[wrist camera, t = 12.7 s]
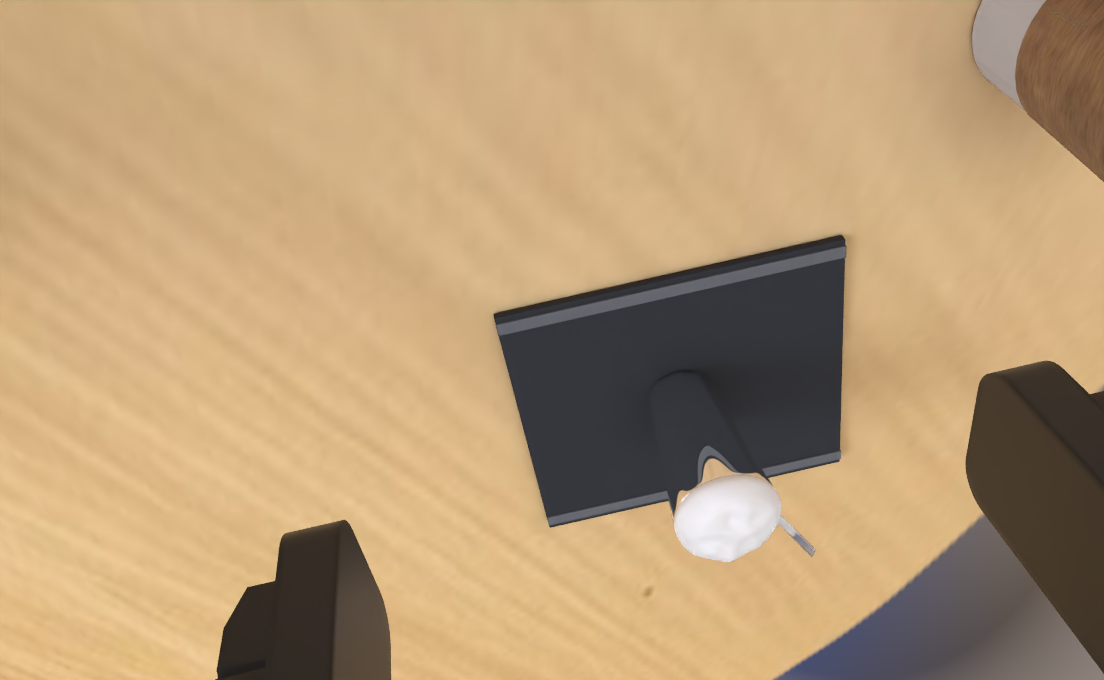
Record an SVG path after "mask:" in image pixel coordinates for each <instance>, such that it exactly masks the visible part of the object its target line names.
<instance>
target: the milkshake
mask: <svg viewBox="0 0 1104 680" xmlns="http://www.w3.org/2000/svg"><path fill="white" fill-rule="evenodd" d="M647 399H648V407H649V414H650V419H651V423H652V427H653V431H654V435H655V439H656V444H657V448H658V452H659V456H660V460H661V464H662V468H663V473H664V477H665V483H666V489H667V495H668V500H669V505H670V510H671V515H672V520H673V525H674V529H675V533H676V536H677V538H678V539H679V541H680V543H681V544H682V545H683V546H684V547H685V548H686V549H687V550H688V551H689V552H690V553H692V554H694V555H696V556H699V557H702V558H708V559H713V560H718V561H722V562H731V561H734V560H736V559H738V558H739V557H741V556H742V555H744V554H746V553H748V552H750V551H753V550H755V549H757V548H759V547H760V546H761V545H762V544H763V543H764V542H765V541H766V540H767V539H768V537H769V536H770V535H771V533H772V532H773V531H774V529H775V528H776V526H777V524H779V525H780V526H781V527H782V528H783V529H784V530H785V531H786V532H787V533H788V534H789V535H790V536H791V537H792V538H793V539H794V540H795V541H796V542H797V543H798V544H799V545H800V546H801V547H802V548H803V549H804V550H805V551H806V552H807V553H808V554H809V555H810V556H813V554H814V552H815V548H814V547H813V546H812V545H811V544H810V543H809V542H808V541H807V540H806V539H805V538H804V537H803V536H802V535H801V534H800V533H799V532H798V531H797V530H796V529H795V528H794V527H793V526H792V525H791V524H790V523H789V522H787V521H786V520H785V519H784V518H783V517H782V516H781V508H782V505H781V499H780V497H779V494H778V493H777V491H776V490H775V488H774V487H773V485H772V484H771V482H770V480H769V479H768V477H767V476H766V474H765V473H764V471H763V470H762V468H761V467H760V465H759V463H758V462H757V460H756V459H755V457H754V456H753V454H752V453H751V451H750V449H749V448H748V446H747V444H746V443H745V441H744V439H743V437H742V436H741V434H740V432H739V431H738V429H737V427H736V426H735V424H734V422H733V421H732V419H731V417H730V415H729V414H728V412H727V410H726V409H725V407H724V405H723V404H722V402H721V400H720V399H719V397H718V395H717V394H716V392H715V390H714V389H713V387H712V385H711V384H710V383H709V382H708V381H707V380H706V379H704V378H703V377H702V376H701V375H699V374H698V373H697V372H678V371H676V372H674V373H672V374H670V375H668V376H666V377H664V378H662V379H660V380H658V381H657V382H656V384H655V385H654V387H653V388H652V390H651V391H650V393H649V394H648V396H647Z"/></svg>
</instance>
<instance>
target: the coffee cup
mask: <svg viewBox="0 0 1104 680" xmlns="http://www.w3.org/2000/svg"><path fill="white" fill-rule="evenodd" d="M972 48H973V56H974V59H975V61H976V64H977V67H978V68H979V70H980V71H981V73H982V74H983V75H984V77H985V78H986V79H987V80H988V81H990V82H991V83H992V84H993V85H994V86H996V87H997V88H998V89H999V90H1001V91H1002V92H1003V93H1004V94H1005V95H1007V96H1008V97H1009V98H1010V99H1012V100H1013V101H1014V102H1015V103H1017V104H1018V105H1019V106H1020V107H1021V108H1023V109H1024V110H1025V111H1026V112H1027V114H1028V115H1029V116H1030V117H1031V118H1032V119H1034V120H1035V121H1036V122H1037V123H1038V124H1039V125H1040V126H1041V127H1043V128H1044V129H1045V130H1046V131H1047V132H1048V133H1049V134H1050V135H1052V136H1053V137H1054V138H1055V139H1056V140H1057V141H1058V142H1059V143H1061V144H1062V145H1063V146H1064V147H1065V148H1066V149H1067V150H1068V151H1070V152H1071V153H1072V154H1073V155H1074V156H1075V157H1076V158H1077V159H1079V160H1080V161H1081V162H1082V163H1083V164H1084V165H1085V166H1086V167H1088V168H1089V169H1090V170H1091V171H1092V172H1093V173H1094V174H1095V175H1097V176H1098V177H1099V178H1100V179H1101V180H1102V181H1103V182H1104V0H982V2H981V5H980V7H979V9H978V11H977V14H976V18H975V22H974V26H973V34H972Z"/></svg>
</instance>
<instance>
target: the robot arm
mask: <svg viewBox="0 0 1104 680" xmlns="http://www.w3.org/2000/svg"><path fill="white" fill-rule="evenodd" d="M966 474H967V478H968V482H969V486H970V489H971V491H972V494H973V496H974V498H975V500H976V502H977V504H978V505H979V507H980V508H981V510H982V511H983V513H984V514H985V515H986V516H987V518H988V519H989V521H990V522H991V523H992V524H993V526H994V527H995V529H996V530H997V531H998V533H999V534H1000V535H1001V536H1002V538H1003V539H1004V541H1005V542H1006V543H1007V545H1008V546H1009V547H1010V549H1011V550H1012V551H1013V553H1014V554H1015V555H1016V557H1017V558H1018V559H1019V561H1020V562H1021V563H1022V565H1023V566H1024V567H1025V569H1026V570H1027V571H1028V573H1029V574H1030V575H1031V577H1032V578H1033V579H1034V581H1035V582H1036V583H1037V585H1038V586H1039V587H1040V589H1041V590H1042V591H1043V593H1044V594H1045V596H1046V597H1047V598H1048V600H1049V601H1050V602H1051V604H1052V605H1053V606H1054V607H1055V609H1056V610H1057V612H1058V613H1059V614H1060V616H1061V617H1062V618H1063V619H1064V621H1065V622H1066V624H1067V625H1068V626H1069V628H1070V629H1071V630H1072V632H1073V633H1074V634H1075V636H1076V637H1077V638H1078V639H1079V641H1080V642H1081V644H1082V645H1083V646H1084V648H1085V649H1086V650H1087V652H1088V653H1089V654H1090V656H1091V657H1092V658H1093V660H1094V661H1095V662H1096V664H1097V665H1098V666H1099V668H1100V669H1101V670H1102V672H1103V673H1104V391H1102V392H1098V393H1094V394H1089V393H1088V392H1087V391H1086V390H1085V389H1084V388H1083V387H1081V386H1080V385H1079V384H1078V383H1077V382H1076V381H1075V380H1074V379H1073V378H1072V377H1071V376H1070V375H1069V374H1068V373H1067V372H1066V371H1065V370H1064V369H1063V368H1062V367H1060V366H1059V365H1058V364H1056V363H1054V362H1051V361H1042V362H1037V363H1033V364H1029V365H1024V366H1020V367H1016V368H1011V369H1007V370H1003V371H998V372H994V373H990V374H986V375H985V376H984V377H983V378H982V379H981V381H980V383H979V387H978V392H977V398H976V404H975V409H974V415H973V421H972V427H971V432H970V438H969V444H968V449H967V455H966ZM217 673H218V679H215V680H391V643H390V631H389V624H388V618H387V613H386V609H385V605H384V601H383V598H382V596H381V593H380V591H379V588H378V586H377V584H376V582H375V579H374V577H373V575H372V573H371V570H370V568H369V566H368V564H367V561H366V559H365V557H364V555H363V552H362V550H361V548H360V546H359V543H358V541H357V539H356V537H355V534H354V532H353V530H352V528H351V526H350V524H349V523H348V522H347V521H346V520H342V521H337V522H333V523H329V524H324V525H320V526H316V527H311V528H307V529H303V530H298V531H294V532H289V533H285V534H284V535H283V537H282V538H281V542H280V547H279V554H278V563H277V571H276V580H275V581H273V582H269V583H265V584H260V585H256V586H252V587H247V589H246V591H245V592H244V594H243V596H242V598H241V599H240V601H239V603H238V604H237V606H236V608H235V610H234V611H233V613H232V615H231V617H230V618H229V620H228V622H227V624H226V625H225V627H224V630H223V636H222V642H221V648H220V654H219V660H218V666H217Z"/></svg>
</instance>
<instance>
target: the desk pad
mask: <svg viewBox="0 0 1104 680" xmlns="http://www.w3.org/2000/svg"><path fill="white" fill-rule="evenodd" d="M845 257H846V245H845V238H844V237H843V236H837V237H833V238H828V239H824V240H819V241H815V242H811V243H806V244H802V245H797V246H793V247H789V248H784V249H780V250H775V251H771V252H766V253H762V254H758V255H753V256H749V257H744V258H740V259H735V260H731V261H727V262H722V263H718V264H713V265H709V266H705V267H700V268H696V269H691V270H687V271H682V272H678V273H674V274H669V275H665V276H660V277H656V278H652V279H647V280H643V281H638V282H634V283H629V284H625V285H621V286H616V287H612V288H607V289H603V290H598V291H594V292H590V293H585V294H581V295H576V296H572V297H568V298H563V299H559V300H554V301H550V302H545V303H541V304H537V305H532V306H528V307H523V308H519V309H515V310H510V311H506V312H501V313H497V314H494V319H495V323H496V327H497V331H498V335H499V338H500V342H501V345H502V349H503V353H504V357H505V361H506V364H507V368H508V372H509V376H510V379H511V383H512V387H513V391H514V395H515V398H516V402H517V406H518V410H519V413H520V417H521V421H522V425H523V429H524V432H525V436H526V440H527V444H528V447H529V451H530V455H531V459H532V463H533V466H534V470H535V474H536V478H537V481H538V485H539V489H540V493H541V497H542V500H543V504H544V508H545V512H546V515H547V520H548V524H549V527H555V526H559V525H564V524H568V523H572V522H577V521H581V520H586V519H590V518H594V517H599V516H603V515H607V514H612V513H616V512H621V511H625V510H629V509H634V508H638V507H643V506H647V505H651V504H656V503H660V502H664V501H669V500H668V495H667V489H666V483H665V477H664V473H663V468H662V464H661V460H660V456H659V452H658V448H657V444H656V439H655V435H654V431H653V427H652V423H651V419H650V414H649V407H648V399H647V396H648V394H649V393H650V391H651V390H652V388H653V387H654V385H655V384H656V382H657V381H658V380H660V379H662V378H664V377H666V376H668V375H670V374H672V373H674V372H676V371H678V372H697V373H698V374H699V375H701V376H702V377H703V378H704V379H706V380H707V381H708V382H709V383H710V384H711V385H712V387H713V389H714V390H715V392H716V394H717V395H718V397H719V399H720V400H721V402H722V404H723V405H724V407H725V409H726V410H727V412H728V414H729V415H730V417H731V419H732V421H733V422H734V424H735V426H736V427H737V429H738V431H739V432H740V434H741V436H742V437H743V439H744V441H745V443H746V444H747V446H748V448H749V449H750V451H751V453H752V454H753V456H754V457H755V459H756V460H757V462H758V463H759V465H760V467H761V468H762V470H763V471H764V473H765V474H766V476H767V477H768V478H770V477H774V476H778V475H783V474H787V473H791V472H796V471H800V470H805V469H809V468H813V467H818V466H822V465H826V464H831V463H835V462H839V460H840V459H841V451H840V422H841V384H842V346H843V308H844V270H845Z"/></svg>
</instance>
